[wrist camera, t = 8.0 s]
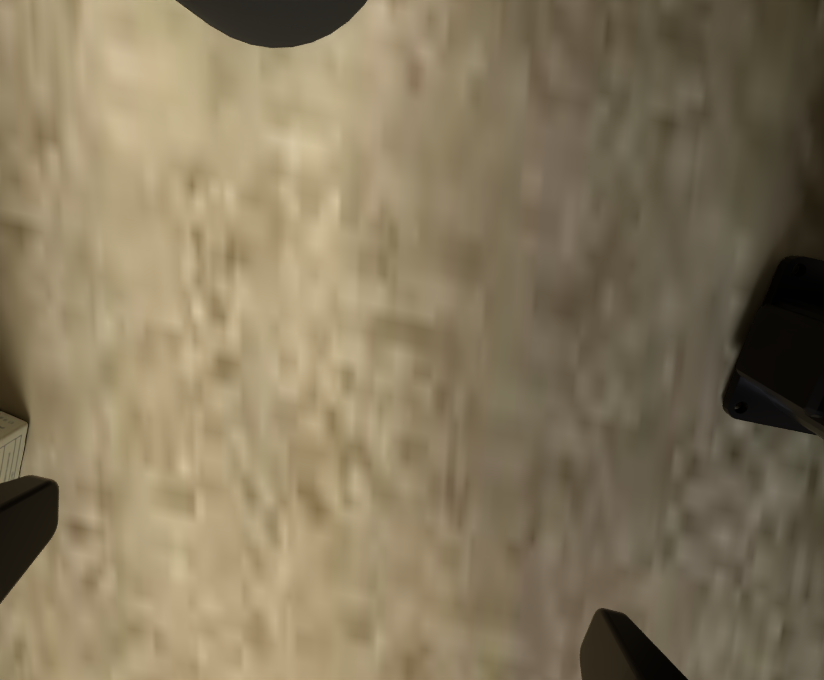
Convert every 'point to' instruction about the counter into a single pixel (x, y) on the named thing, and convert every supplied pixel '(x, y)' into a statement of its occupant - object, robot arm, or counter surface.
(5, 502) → the robot arm
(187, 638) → the counter surface
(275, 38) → the mug
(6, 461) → the box
